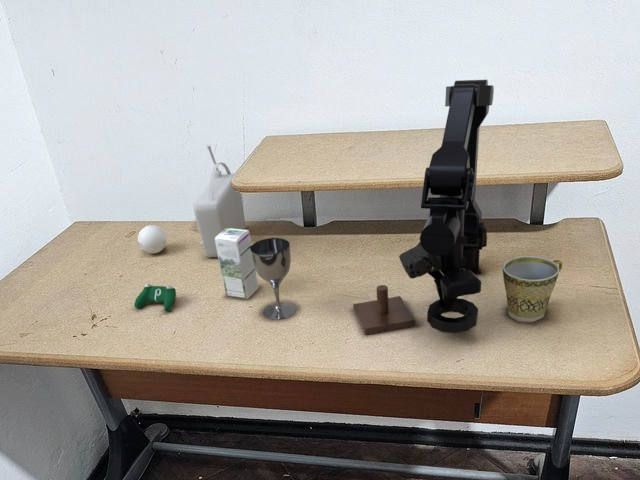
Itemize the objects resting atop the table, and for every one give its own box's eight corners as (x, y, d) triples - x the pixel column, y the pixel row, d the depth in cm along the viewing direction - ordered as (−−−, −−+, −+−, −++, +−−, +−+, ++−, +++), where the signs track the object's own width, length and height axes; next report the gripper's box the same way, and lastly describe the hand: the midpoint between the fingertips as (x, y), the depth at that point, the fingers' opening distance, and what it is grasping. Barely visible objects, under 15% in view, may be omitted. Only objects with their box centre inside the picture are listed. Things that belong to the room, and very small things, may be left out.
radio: (219, 227, 176) (202, 136, 162) (248, 225, 174) (233, 134, 161) (197, 262, 158) (176, 164, 144) (229, 261, 156) (211, 162, 143)
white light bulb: (173, 245, 168) (167, 219, 164) (164, 257, 162) (157, 231, 158) (138, 246, 170) (131, 221, 166) (127, 259, 164) (120, 233, 160)
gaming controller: (176, 314, 140) (181, 288, 141) (168, 310, 137) (173, 283, 138) (141, 311, 143) (146, 286, 144) (132, 306, 140) (137, 281, 141)
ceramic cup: (524, 333, 117) (529, 285, 112) (488, 311, 125) (491, 265, 119) (576, 311, 122) (583, 264, 116) (538, 291, 129) (543, 246, 124)
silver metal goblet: (293, 321, 129) (284, 255, 121) (256, 320, 131) (245, 255, 123) (301, 301, 136) (293, 237, 128) (266, 301, 138) (256, 237, 129)
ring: (465, 304, 123) (466, 294, 122) (485, 327, 115) (485, 317, 114) (421, 312, 122) (421, 302, 121) (437, 336, 115) (438, 326, 113)
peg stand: (400, 302, 131) (399, 272, 128) (415, 326, 123) (414, 295, 119) (353, 310, 131) (351, 280, 127) (365, 335, 122) (363, 304, 118)
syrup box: (259, 287, 143) (250, 228, 135) (247, 300, 139) (236, 239, 131) (238, 284, 146) (227, 226, 138) (225, 297, 141) (213, 237, 133)
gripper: (389, 218, 120) (391, 290, 128) (420, 260, 104) (420, 338, 113) (445, 209, 121) (444, 281, 129) (484, 249, 105) (479, 328, 114)
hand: (445, 306), depth 121 cm, fingers closed on ring, 2 cm apart
